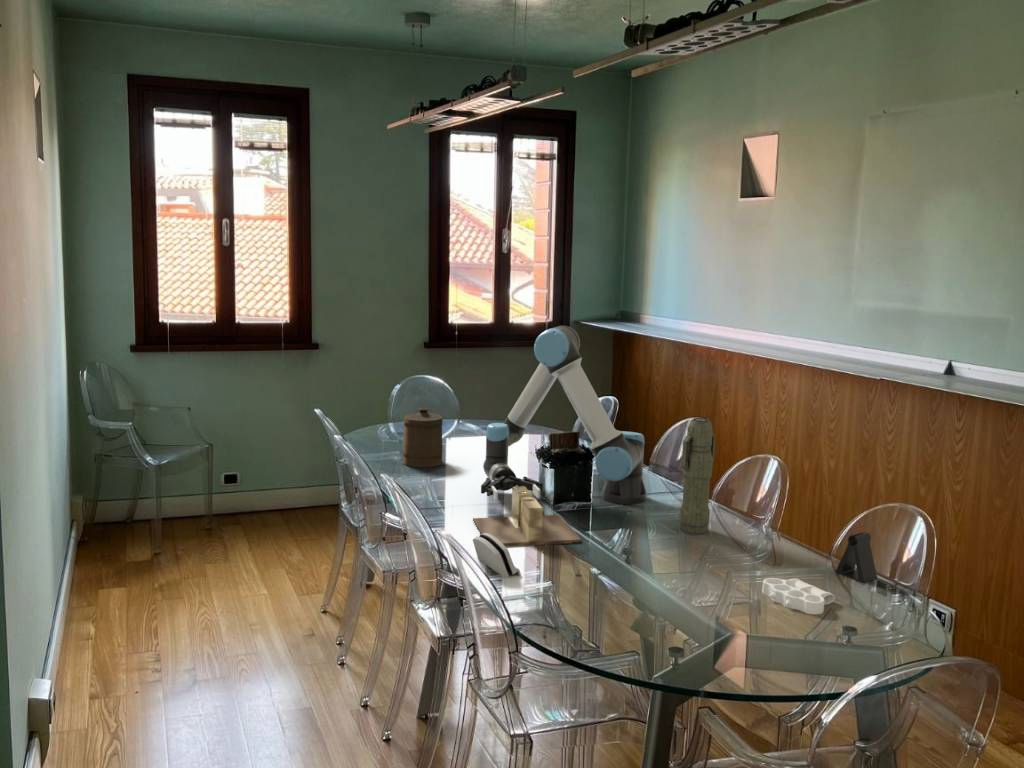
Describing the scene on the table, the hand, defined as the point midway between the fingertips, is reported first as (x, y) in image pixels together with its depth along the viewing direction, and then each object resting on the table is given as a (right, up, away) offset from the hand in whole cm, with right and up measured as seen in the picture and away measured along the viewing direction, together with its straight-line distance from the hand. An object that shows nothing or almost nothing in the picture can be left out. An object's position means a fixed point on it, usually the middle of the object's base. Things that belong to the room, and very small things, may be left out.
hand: (518, 495), depth 301 cm
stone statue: (+54, -11, -2) cm, 55 cm away
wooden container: (-36, +4, +69) cm, 78 cm away
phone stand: (+92, -18, -37) cm, 101 cm away
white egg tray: (+71, -21, -55) cm, 92 cm away
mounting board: (+2, -10, -8) cm, 13 cm away
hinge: (-7, -16, -38) cm, 42 cm away
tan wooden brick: (+1, -8, -3) cm, 8 cm away
